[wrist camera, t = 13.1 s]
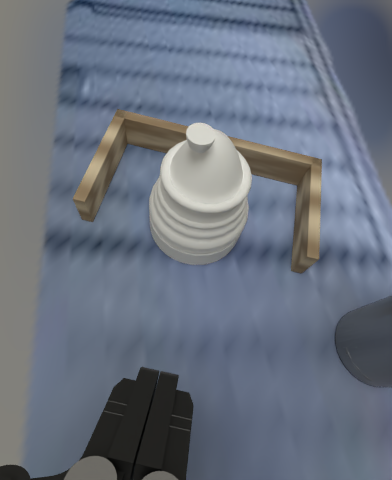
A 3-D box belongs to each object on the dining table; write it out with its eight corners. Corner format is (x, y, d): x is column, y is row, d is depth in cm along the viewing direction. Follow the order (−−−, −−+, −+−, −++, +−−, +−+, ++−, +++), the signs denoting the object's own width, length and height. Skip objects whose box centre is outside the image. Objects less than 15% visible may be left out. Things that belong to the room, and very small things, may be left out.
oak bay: (301, 273, 41) (319, 259, 36) (82, 219, 41) (72, 198, 36) (306, 180, 48) (321, 159, 44) (121, 134, 48) (117, 109, 44)
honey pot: (191, 284, 38) (214, 210, 22) (131, 216, 42) (113, 111, 26) (257, 229, 43) (315, 136, 27) (198, 172, 47) (218, 60, 31)
